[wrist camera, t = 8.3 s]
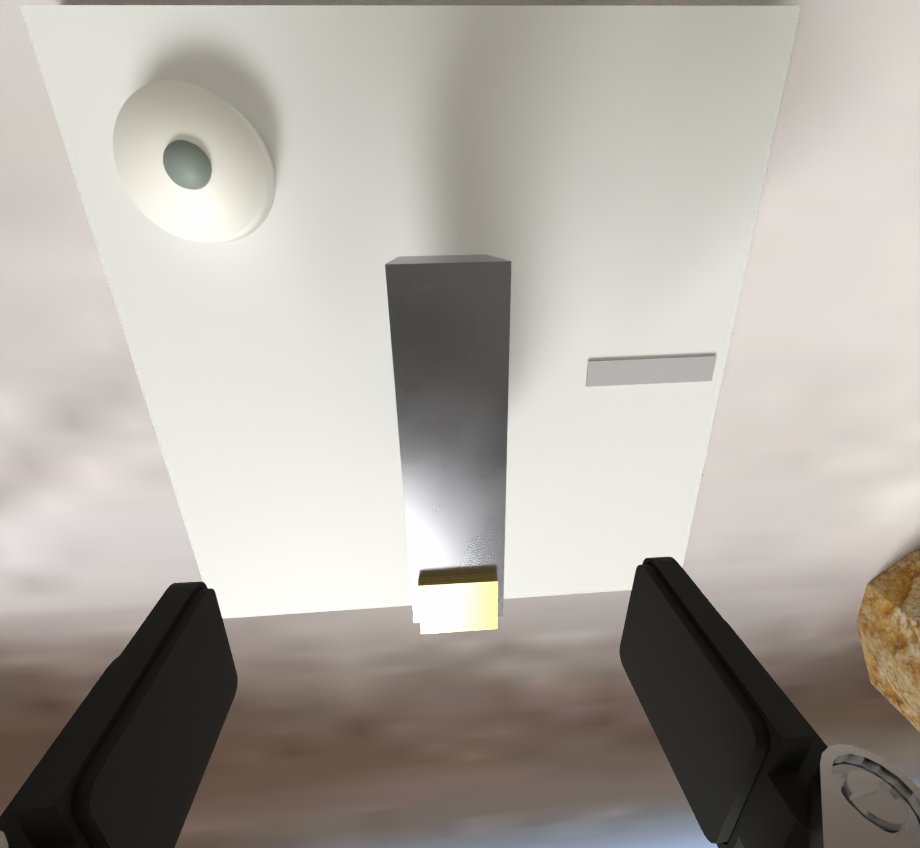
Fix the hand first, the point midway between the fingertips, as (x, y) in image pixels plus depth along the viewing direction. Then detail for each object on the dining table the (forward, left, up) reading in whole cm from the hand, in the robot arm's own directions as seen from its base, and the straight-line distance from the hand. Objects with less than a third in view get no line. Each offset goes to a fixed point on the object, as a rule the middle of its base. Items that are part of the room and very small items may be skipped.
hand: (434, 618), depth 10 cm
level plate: (+1, +3, -10) cm, 11 cm away
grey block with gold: (+1, +3, -9) cm, 9 cm away
